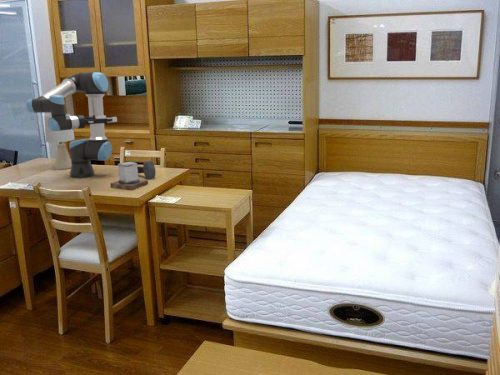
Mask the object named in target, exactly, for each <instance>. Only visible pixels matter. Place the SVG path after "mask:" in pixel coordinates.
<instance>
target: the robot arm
mask: <svg viewBox="0 0 500 375" xmlns="http://www.w3.org/2000/svg"><path fill="white" fill-rule="evenodd" d="M108 88H109V80H108V79H107V76H106V75H105V74H104V73H103V72H97V71H95V72H94V71H93V72H77V73H74V74H72V75H69V76H68V77H66V78H65V79H63V80H62V81H61V83H59V84H58V85H56V86H55V87H53V88H52V89H50V90H48V91H46V92H45V93H43V94H41V95H39V97H37V98H29V99H28V100H27V101H26V103H25V107H26V110H27V111H28V112H29V113H34V114H35V113H36V114H38V113H41V114H42V113H45V114H46V113H48V114H51V115H52V118H49V119H48V127H49V129H50V130H51V131H63V130H70V129H72V130H73V131H74V130H77V129H85V127H86V126H87V125H88V126H89V132H90V137H89V138H83V139H77V140H76V139H75V140H72V141H69V143H68V144H69V148H68V149H69V156H70V159H71V163H72V165H71V168H70V171H69V177H70V178H73V179H82V178H84V179H85V178H89V177H93V176H94V175H95V174H96V173H95V169H94V168H93V165H92V164H91V163H92V162H91V161H107V160H109V159H110V157H111V155H112V153H113V146H112V143H111V142H110V141H109V139H108V137H107V136H106V134H105V124H106V125H108V124H109V123H117V122H118V118H117V116H112V117H107V115H104V100H103V98H104V97H105V94H106V92H107V91H108V90H109V89H108ZM75 93H84V94H85V96H86V98H87V101H88V117H87V116H86V117H85V116H84V115H83V114H78V115H70V116H66V113H67V112H66V102H65V98H66V97H67V96H68V95H73V94H75Z"/></svg>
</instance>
